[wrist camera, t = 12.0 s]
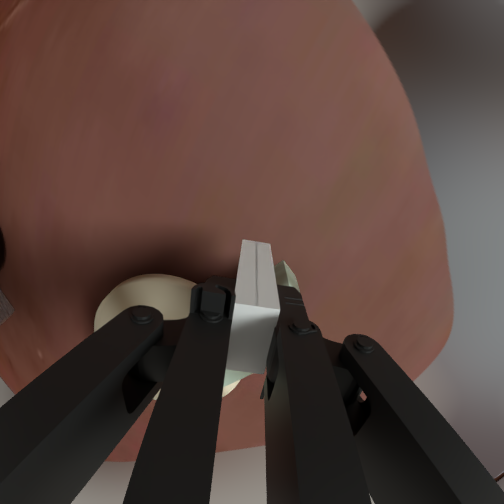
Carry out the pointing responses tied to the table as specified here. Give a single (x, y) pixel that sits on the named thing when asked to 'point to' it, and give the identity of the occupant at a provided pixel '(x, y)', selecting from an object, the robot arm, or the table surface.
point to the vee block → (5, 308)
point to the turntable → (170, 303)
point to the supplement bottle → (2, 250)
